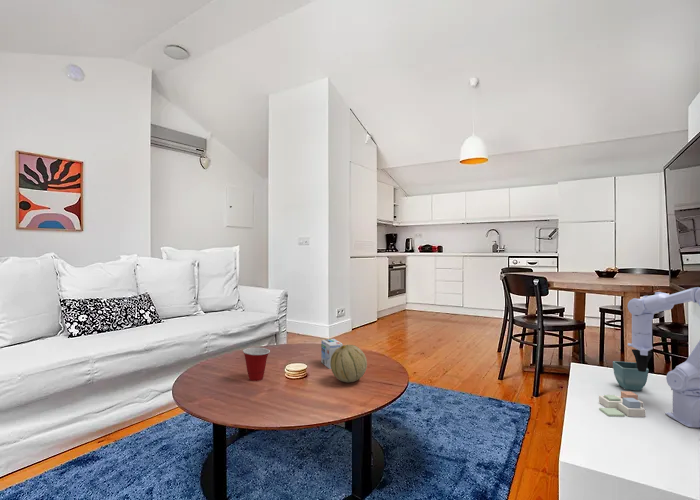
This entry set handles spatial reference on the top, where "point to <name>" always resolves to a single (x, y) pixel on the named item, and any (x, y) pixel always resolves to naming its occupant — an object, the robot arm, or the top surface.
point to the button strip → (613, 402)
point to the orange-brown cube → (628, 395)
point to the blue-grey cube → (631, 403)
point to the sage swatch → (611, 412)
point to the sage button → (612, 398)
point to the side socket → (631, 411)
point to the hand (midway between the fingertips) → (641, 371)
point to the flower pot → (629, 375)
